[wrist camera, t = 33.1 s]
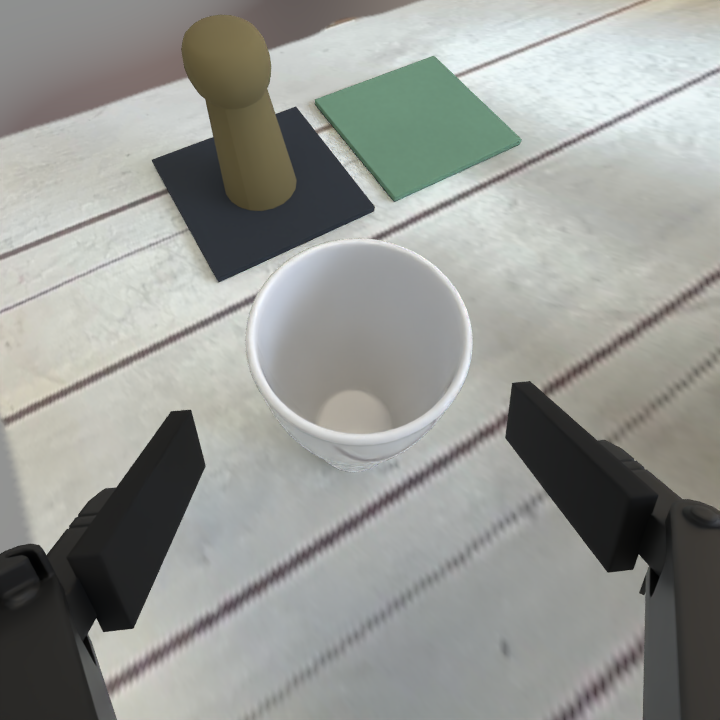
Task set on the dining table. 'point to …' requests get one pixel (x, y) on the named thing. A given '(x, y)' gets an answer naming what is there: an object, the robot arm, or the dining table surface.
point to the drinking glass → (358, 349)
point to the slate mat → (269, 227)
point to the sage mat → (416, 126)
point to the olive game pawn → (240, 109)
